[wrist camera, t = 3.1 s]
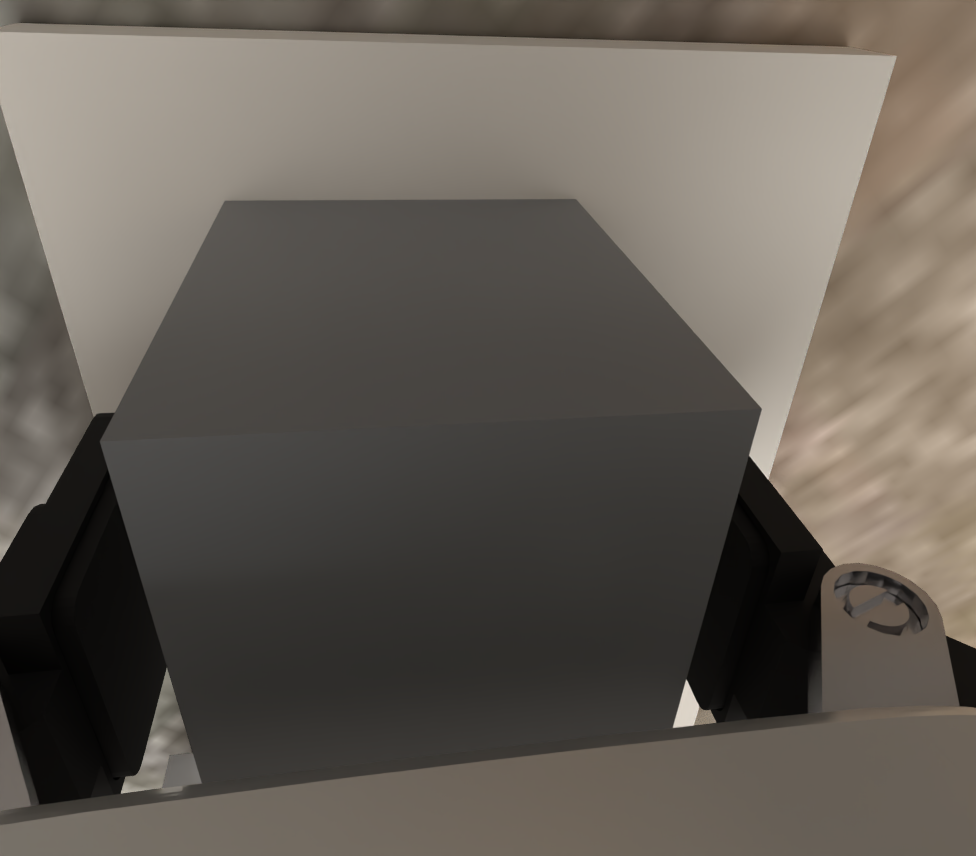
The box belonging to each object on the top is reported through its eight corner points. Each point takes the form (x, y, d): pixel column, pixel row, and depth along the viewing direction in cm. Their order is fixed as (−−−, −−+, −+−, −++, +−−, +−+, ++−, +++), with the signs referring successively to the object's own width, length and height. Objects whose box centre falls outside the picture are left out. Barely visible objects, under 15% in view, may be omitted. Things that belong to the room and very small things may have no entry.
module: (576, 199, 11) (761, 409, 6) (533, 609, 16) (618, 919, 11) (224, 200, 10) (100, 440, 5) (291, 630, 15) (259, 974, 10)
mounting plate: (849, 46, 11) (943, 64, 10) (639, 822, 23) (663, 896, 22) (-24, 21, 10) (-113, 39, 8) (230, 878, 22) (219, 963, 20)
